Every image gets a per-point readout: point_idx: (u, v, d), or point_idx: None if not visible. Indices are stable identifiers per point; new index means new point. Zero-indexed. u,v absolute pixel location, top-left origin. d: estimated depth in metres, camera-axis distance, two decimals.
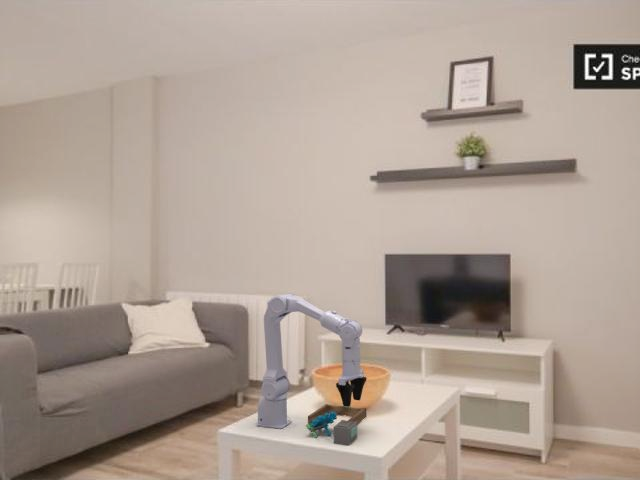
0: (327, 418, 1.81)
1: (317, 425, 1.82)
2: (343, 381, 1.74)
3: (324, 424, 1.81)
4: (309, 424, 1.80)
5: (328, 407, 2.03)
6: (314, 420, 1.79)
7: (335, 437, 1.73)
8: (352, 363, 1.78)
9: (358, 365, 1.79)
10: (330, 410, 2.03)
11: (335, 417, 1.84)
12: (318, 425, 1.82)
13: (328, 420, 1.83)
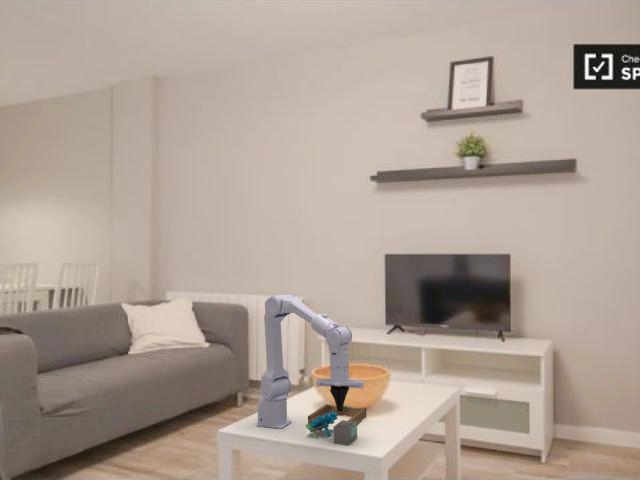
0: (327, 418, 1.81)
1: (317, 425, 1.82)
2: (316, 382, 1.76)
3: (324, 424, 1.81)
4: (309, 424, 1.80)
5: (328, 407, 2.03)
6: (314, 420, 1.79)
7: (335, 437, 1.73)
8: (330, 368, 1.74)
9: (335, 372, 1.73)
10: (330, 410, 2.03)
11: (335, 417, 1.84)
12: (318, 425, 1.82)
13: (328, 420, 1.83)
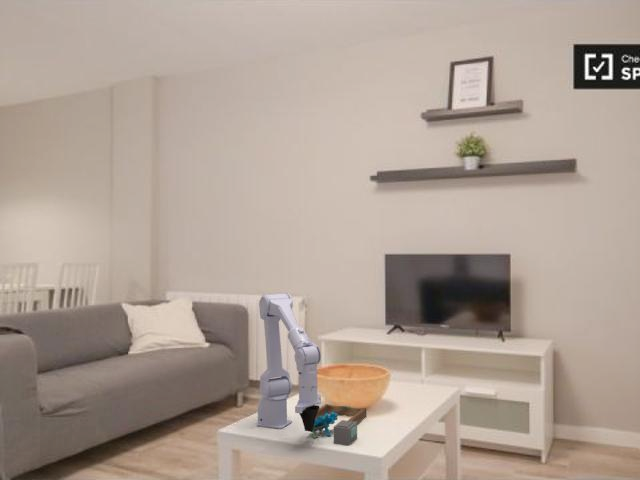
0: (327, 418, 1.81)
1: (317, 425, 1.82)
2: (300, 409, 1.67)
3: (324, 424, 1.81)
4: None
5: (328, 407, 2.03)
6: None
7: (335, 437, 1.73)
8: (309, 389, 1.71)
9: (315, 391, 1.72)
10: (330, 410, 2.03)
11: (336, 418, 1.83)
12: (318, 425, 1.82)
13: (329, 420, 1.83)
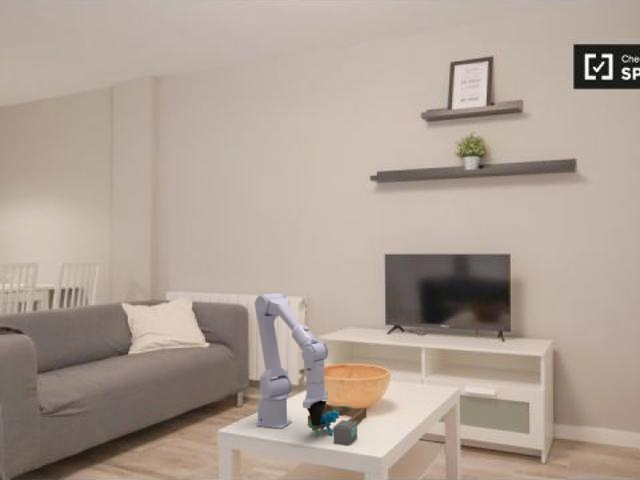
0: (329, 417, 1.82)
1: None
2: (307, 404, 1.72)
3: (326, 423, 1.82)
4: (311, 423, 1.81)
5: (328, 407, 2.03)
6: None
7: (335, 437, 1.73)
8: (316, 385, 1.76)
9: (322, 387, 1.77)
10: (330, 410, 2.03)
11: (337, 416, 1.85)
12: (320, 424, 1.83)
13: (330, 419, 1.84)
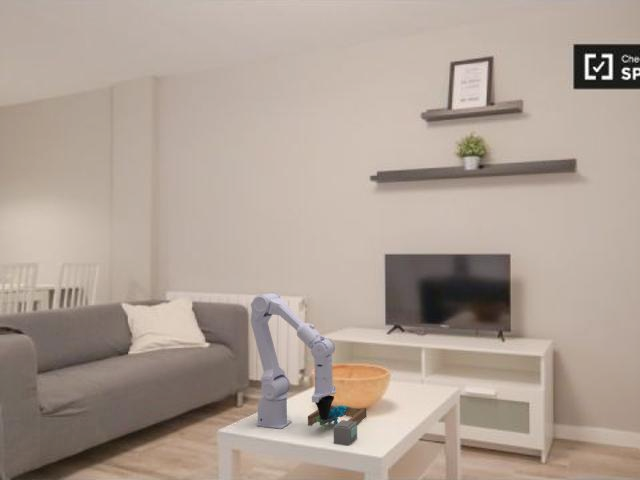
0: (336, 411, 1.88)
1: None
2: (316, 398, 1.78)
3: (334, 417, 1.88)
4: (319, 417, 1.87)
5: None
6: None
7: (335, 437, 1.73)
8: (325, 380, 1.82)
9: (330, 382, 1.83)
10: None
11: (344, 411, 1.91)
12: (328, 418, 1.89)
13: (338, 413, 1.90)
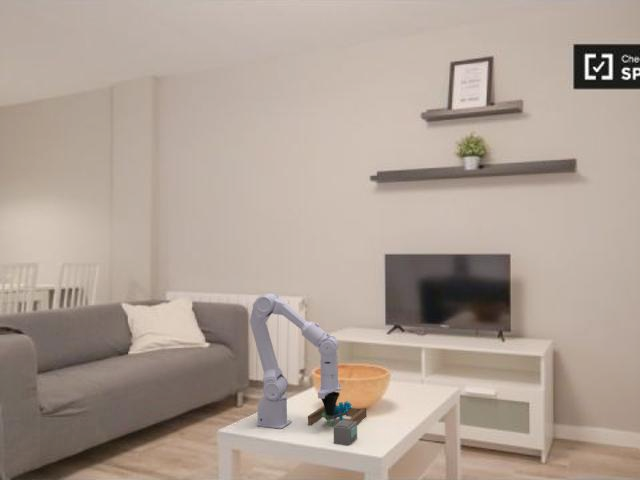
0: (342, 407, 1.92)
1: None
2: (322, 394, 1.82)
3: (339, 413, 1.92)
4: (325, 413, 1.92)
5: None
6: None
7: (335, 437, 1.73)
8: (330, 377, 1.86)
9: (336, 379, 1.87)
10: None
11: (349, 407, 1.95)
12: None
13: (343, 409, 1.94)
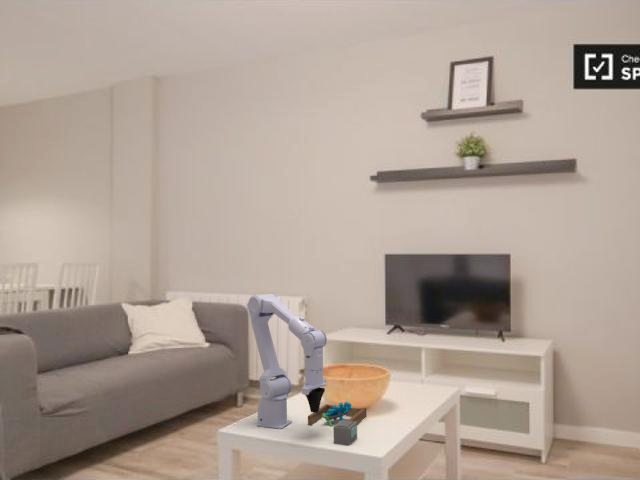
0: (342, 408, 1.92)
1: (332, 414, 1.93)
2: (306, 390, 1.74)
3: (339, 413, 1.92)
4: (325, 413, 1.91)
5: (328, 407, 2.03)
6: (329, 409, 1.90)
7: (335, 437, 1.73)
8: (315, 372, 1.78)
9: (321, 374, 1.79)
10: None
11: (349, 407, 1.95)
12: (333, 414, 1.93)
13: (343, 410, 1.94)
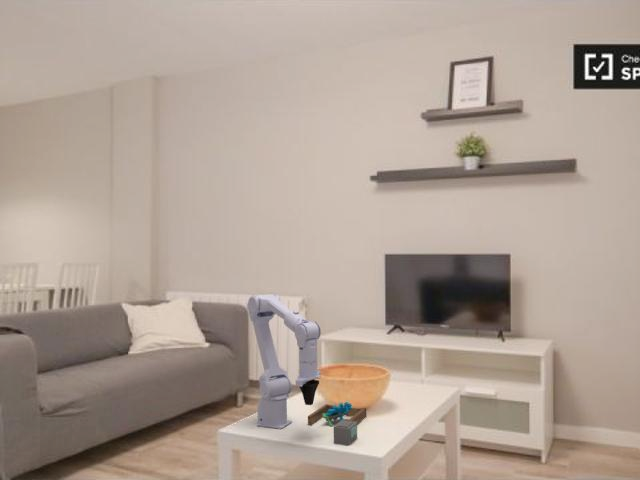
0: (342, 408, 1.92)
1: (332, 414, 1.93)
2: (300, 382, 1.72)
3: (339, 414, 1.92)
4: (325, 413, 1.91)
5: (328, 407, 2.03)
6: (329, 409, 1.90)
7: (335, 437, 1.73)
8: (309, 364, 1.76)
9: (315, 366, 1.77)
10: None
11: (350, 407, 1.95)
12: (333, 414, 1.93)
13: (343, 410, 1.94)
